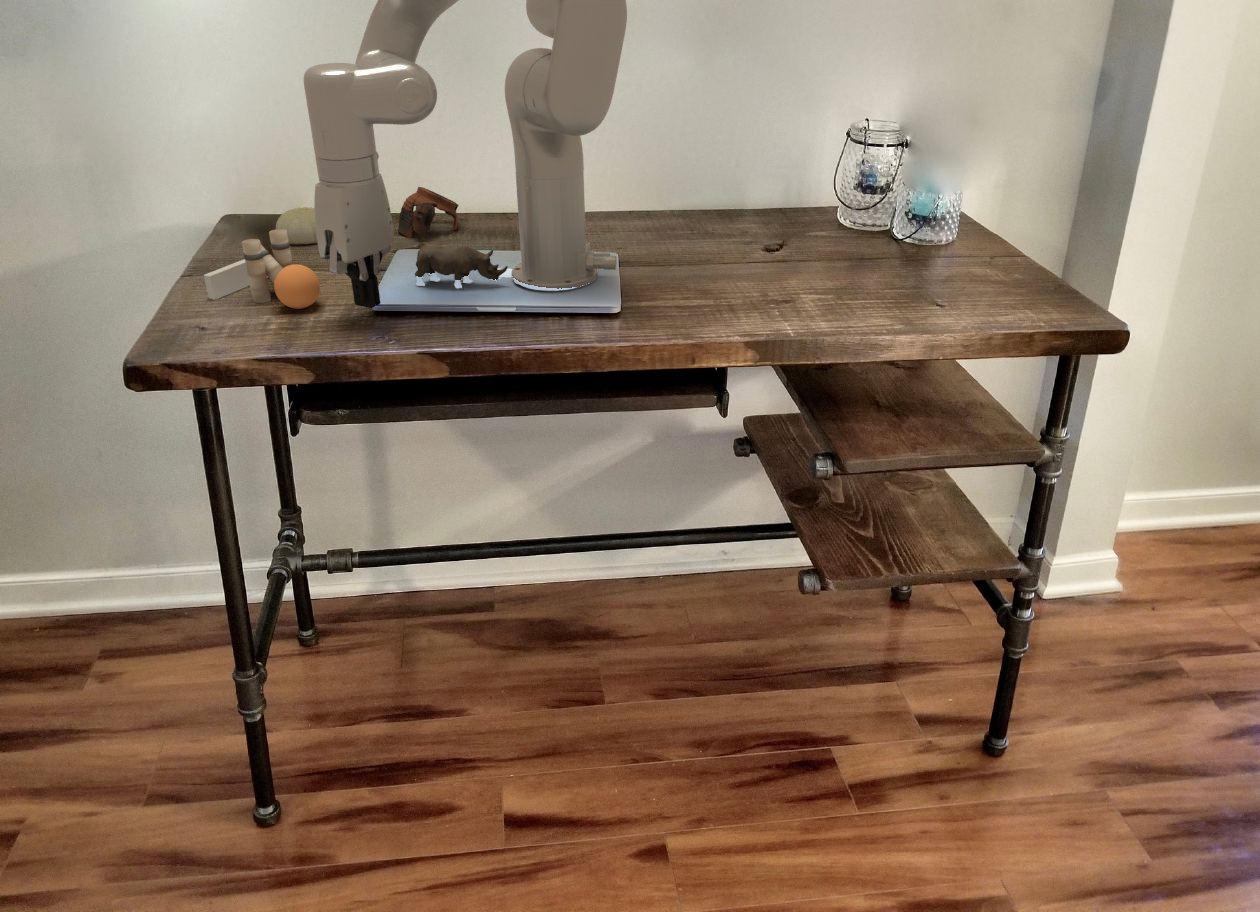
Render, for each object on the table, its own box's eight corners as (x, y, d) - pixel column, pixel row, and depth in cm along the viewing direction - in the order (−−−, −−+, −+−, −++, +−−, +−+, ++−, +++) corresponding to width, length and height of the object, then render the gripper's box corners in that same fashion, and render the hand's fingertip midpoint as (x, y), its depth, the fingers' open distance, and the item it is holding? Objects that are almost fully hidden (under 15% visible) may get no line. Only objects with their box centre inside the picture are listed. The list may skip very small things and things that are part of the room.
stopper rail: (272, 276, 155) (268, 253, 153) (214, 300, 146) (209, 276, 145) (266, 274, 155) (262, 252, 154) (208, 298, 147) (203, 275, 145)
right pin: (300, 286, 151) (289, 229, 147) (293, 292, 149) (282, 234, 145) (283, 285, 151) (272, 228, 147) (276, 291, 149) (265, 234, 145)
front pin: (304, 285, 147) (263, 242, 147) (294, 286, 144) (253, 242, 145) (293, 298, 148) (252, 254, 148) (284, 299, 145) (242, 255, 145)
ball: (291, 270, 146) (329, 290, 146) (268, 303, 144) (307, 323, 144) (287, 248, 140) (327, 269, 141) (263, 282, 138) (303, 303, 138)
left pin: (274, 297, 147) (263, 239, 143) (267, 303, 145) (255, 244, 141) (257, 296, 147) (245, 238, 143) (249, 303, 145) (238, 244, 141)
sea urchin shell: (324, 237, 165) (285, 201, 163) (297, 269, 169) (259, 234, 167) (348, 220, 173) (311, 185, 171) (323, 251, 177) (286, 217, 175)
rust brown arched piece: (396, 228, 177) (414, 182, 175) (448, 251, 179) (466, 206, 177) (388, 230, 165) (407, 182, 164) (443, 255, 167) (463, 208, 166)
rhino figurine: (505, 292, 148) (502, 252, 145) (412, 288, 150) (407, 248, 147) (512, 282, 152) (509, 242, 149) (421, 279, 153) (416, 239, 150)
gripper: (364, 152, 138) (382, 283, 147) (283, 178, 127) (307, 318, 136) (409, 158, 135) (424, 291, 144) (329, 186, 124) (351, 328, 133)
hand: (367, 304), depth 140 cm, fingers closed
